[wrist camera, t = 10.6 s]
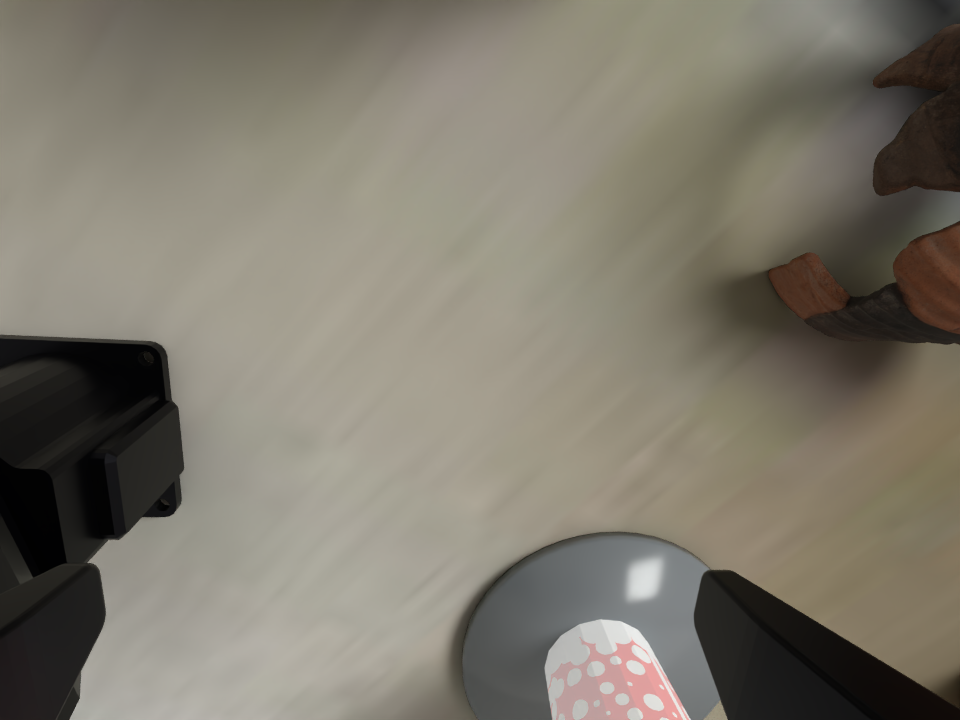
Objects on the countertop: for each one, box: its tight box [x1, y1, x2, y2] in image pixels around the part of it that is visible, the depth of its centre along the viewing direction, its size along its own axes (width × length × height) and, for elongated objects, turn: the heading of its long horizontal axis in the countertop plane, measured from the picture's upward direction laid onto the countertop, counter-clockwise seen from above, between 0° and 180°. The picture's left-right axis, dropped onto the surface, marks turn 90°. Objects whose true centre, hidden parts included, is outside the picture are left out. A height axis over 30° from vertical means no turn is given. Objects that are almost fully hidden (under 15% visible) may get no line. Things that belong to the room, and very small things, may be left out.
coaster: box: [462, 532, 720, 720], centre depth 24 cm, size 12×12×1 cm
